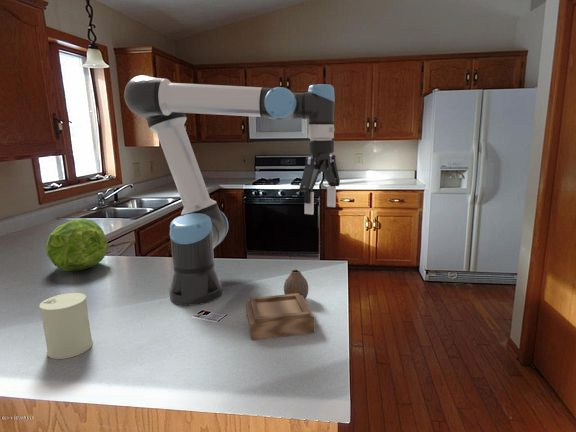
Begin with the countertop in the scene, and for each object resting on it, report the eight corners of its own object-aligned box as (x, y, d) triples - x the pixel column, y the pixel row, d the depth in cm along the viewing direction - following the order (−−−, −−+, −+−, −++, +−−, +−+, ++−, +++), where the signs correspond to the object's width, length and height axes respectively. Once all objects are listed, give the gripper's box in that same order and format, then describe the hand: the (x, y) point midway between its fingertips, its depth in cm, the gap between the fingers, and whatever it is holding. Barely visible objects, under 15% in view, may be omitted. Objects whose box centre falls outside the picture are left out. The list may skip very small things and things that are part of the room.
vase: (311, 297, 115) (311, 267, 113) (304, 307, 109) (303, 276, 107) (288, 294, 117) (287, 265, 115) (280, 304, 111) (279, 274, 109)
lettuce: (91, 257, 161) (76, 214, 156) (122, 259, 146) (106, 212, 142) (41, 278, 146) (23, 232, 142) (71, 283, 132) (51, 231, 127)
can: (59, 339, 95) (51, 291, 93) (99, 336, 96) (92, 289, 93) (38, 360, 86) (29, 308, 84) (83, 357, 87) (75, 306, 84)
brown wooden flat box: (251, 339, 92) (250, 320, 91) (246, 315, 105) (245, 297, 104) (314, 332, 95) (314, 313, 94) (302, 309, 107) (302, 292, 106)
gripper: (310, 140, 106) (309, 219, 111) (351, 138, 126) (349, 204, 131) (286, 140, 110) (287, 216, 115) (330, 138, 130) (329, 202, 135)
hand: (320, 210), depth 123 cm, fingers open, 13 cm apart
